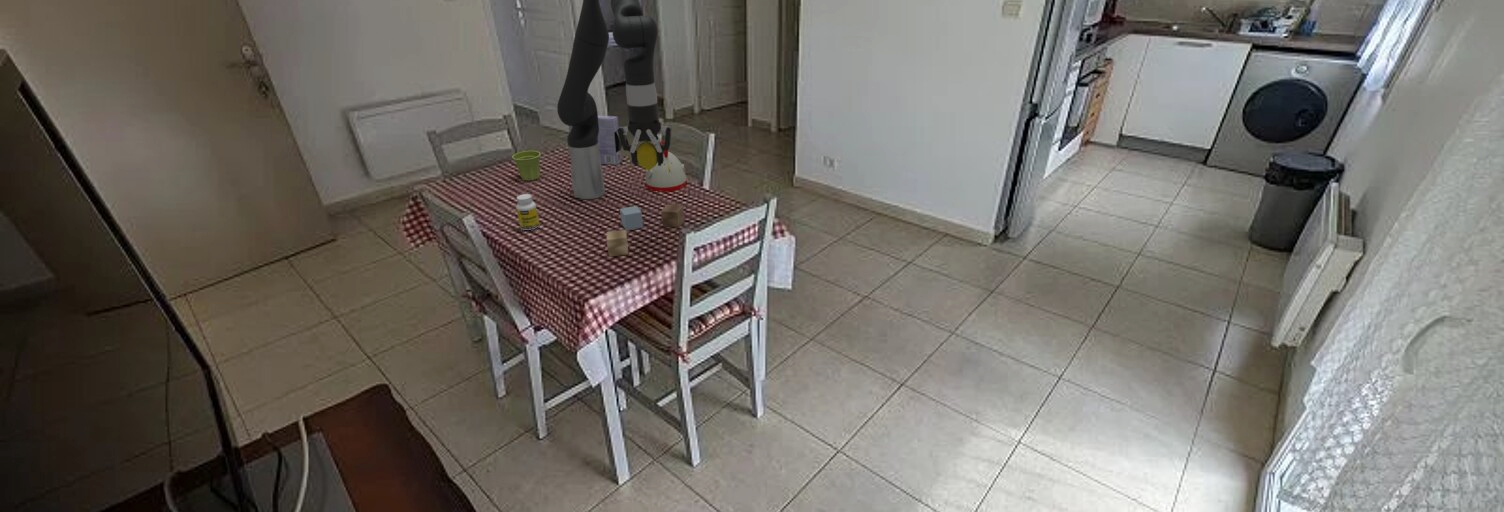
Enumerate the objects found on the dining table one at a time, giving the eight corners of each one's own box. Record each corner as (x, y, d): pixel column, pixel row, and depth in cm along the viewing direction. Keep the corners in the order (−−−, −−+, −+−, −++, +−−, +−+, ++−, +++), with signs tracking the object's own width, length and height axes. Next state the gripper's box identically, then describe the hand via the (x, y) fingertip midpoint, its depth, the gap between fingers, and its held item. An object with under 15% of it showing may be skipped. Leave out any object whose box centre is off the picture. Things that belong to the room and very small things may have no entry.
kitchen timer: (652, 194, 196) (647, 150, 189) (641, 181, 207) (637, 139, 200) (692, 188, 201) (689, 144, 194) (679, 175, 212) (676, 133, 205)
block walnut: (662, 226, 174) (661, 211, 172) (668, 219, 178) (667, 204, 176) (678, 228, 173) (677, 212, 171) (684, 221, 177) (683, 205, 175)
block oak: (608, 256, 158) (606, 239, 156) (609, 248, 162) (607, 231, 160) (628, 254, 159) (625, 238, 157) (628, 246, 163) (625, 230, 161)
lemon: (661, 167, 161) (658, 138, 157) (656, 174, 156) (653, 144, 152) (641, 166, 161) (638, 137, 157) (635, 173, 156) (632, 144, 152)
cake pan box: (625, 161, 226) (619, 115, 218) (620, 165, 222) (614, 118, 213) (578, 158, 229) (570, 113, 221) (572, 163, 225) (564, 116, 217)
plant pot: (540, 183, 207) (535, 159, 203) (513, 183, 207) (507, 159, 203) (548, 173, 215) (544, 150, 211) (522, 173, 215) (517, 150, 211)
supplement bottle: (522, 233, 172) (515, 201, 167) (519, 225, 176) (512, 195, 171) (541, 229, 174) (535, 197, 169) (538, 222, 178) (532, 191, 173)
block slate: (626, 231, 172) (624, 215, 170) (621, 224, 176) (619, 208, 174) (643, 227, 174) (641, 211, 171) (638, 221, 178) (636, 205, 175)
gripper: (610, 105, 146) (618, 170, 154) (668, 104, 146) (674, 169, 154) (616, 98, 153) (623, 160, 161) (672, 97, 153) (677, 160, 161)
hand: (648, 164), depth 158 cm, fingers closed on lemon, 5 cm apart
